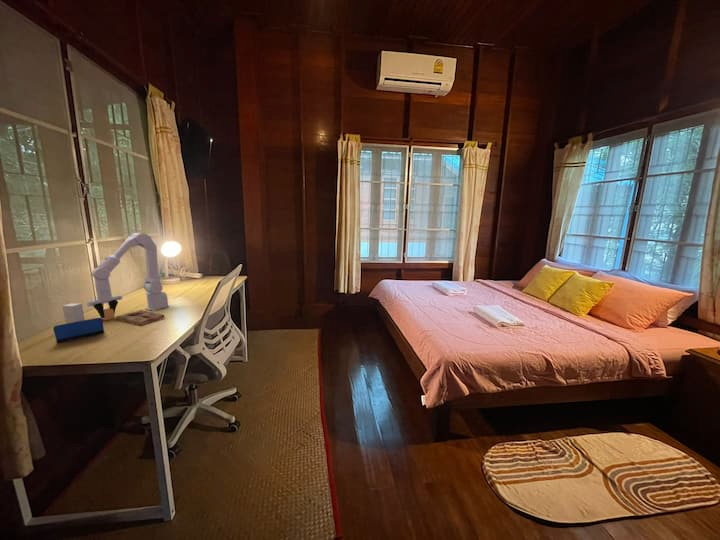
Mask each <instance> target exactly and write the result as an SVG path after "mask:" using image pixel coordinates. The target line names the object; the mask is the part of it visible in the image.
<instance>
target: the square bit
mask: <svg viewBox="0 0 720 540" xmlns="http://www.w3.org/2000/svg"><path fill="white" fill-rule="evenodd" d="M103 311H104V318H102V321H103V320H104V321H108V320H112V319H113V320H114V319H116V318H115V317H116V316H115V315H114V311H113V309H111V308H110V307H107V308H103Z"/></svg>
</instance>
